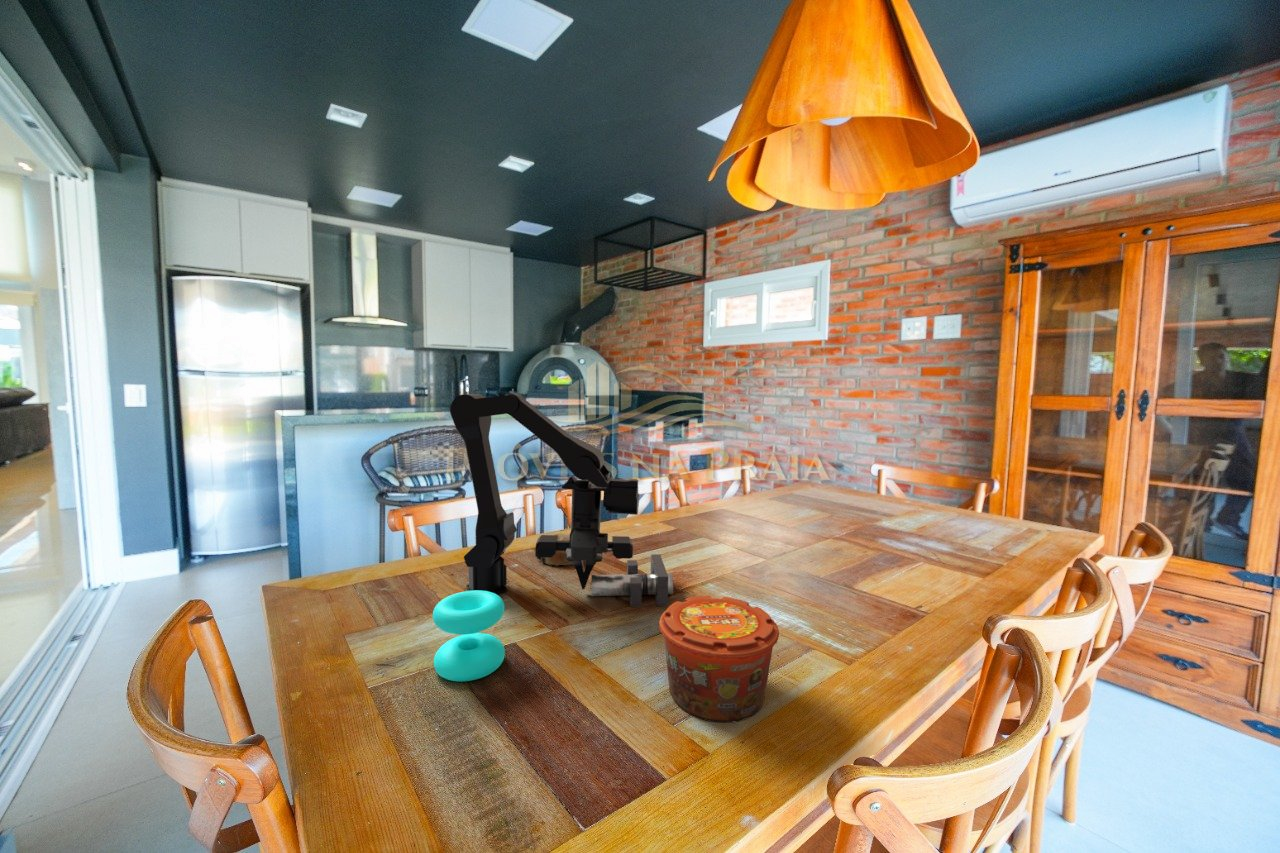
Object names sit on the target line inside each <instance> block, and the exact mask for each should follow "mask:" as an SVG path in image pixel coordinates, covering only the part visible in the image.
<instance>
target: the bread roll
mask: <svg viewBox="0 0 1280 853" xmlns="http://www.w3.org/2000/svg"><path fill="white" fill-rule="evenodd" d="M554 535H558V541H569V540H570V533H555V534H554ZM566 556H567V553H566V551H556V554H555V555H554V556H552V557H536V559H538V560H539V561H540V563H541V562H543V563H546V564H548V566H552V565H555V566H554V567H559V565H565V566H570V564H571V565H573V563H572V562H569V561H566ZM543 563H542V564H543ZM546 564H545V565H546Z"/></svg>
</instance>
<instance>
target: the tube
mask: <svg viewBox="0 0 1280 853" xmlns="http://www.w3.org/2000/svg"><path fill="white" fill-rule="evenodd" d="M667 575H668V595H673V593H674V579H673V578H674V577H673V573H667ZM630 577H640V578H641V583H642V594H641V596H652V595H653V596H656V576H655V574H651V573H638V574H627V573H626V574H625V573H624V574H622V573H621V574H620V573H619V574H591V577H590V579H591V582H590V583H591V586H590V588H591V589H590V592H591V597H610V596H611V597H615V596H619V597H620V596H630Z"/></svg>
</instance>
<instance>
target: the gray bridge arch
mask: <svg viewBox="0 0 1280 853" xmlns="http://www.w3.org/2000/svg"><path fill="white" fill-rule="evenodd" d="M650 574H655V576H656V595H654V596H655V598H654V600H655V603H656V606H657V607H669V606H668V605H669V604H668V603H669V602H668V601H669V594H668V575H667V574H668V572H667V569H666V567H665V563H664V560H663V558H662V555H661V554H659V553H658V554H657V553H656V554H650Z"/></svg>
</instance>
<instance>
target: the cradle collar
mask: <svg viewBox="0 0 1280 853" xmlns="http://www.w3.org/2000/svg"><path fill="white" fill-rule="evenodd" d="M637 561H638V560H637V559H635V560H634V559H633V560H632V559H631V560H629V559H627V560H626V570H627V571H626V574H639V572H638V568H639V567H638V566H639V565H638V562H637ZM641 594H642V583H641V578H640V577H630V595H629V603H630V607H631V608H632V607H634V608H635V607H642V595H641Z"/></svg>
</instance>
